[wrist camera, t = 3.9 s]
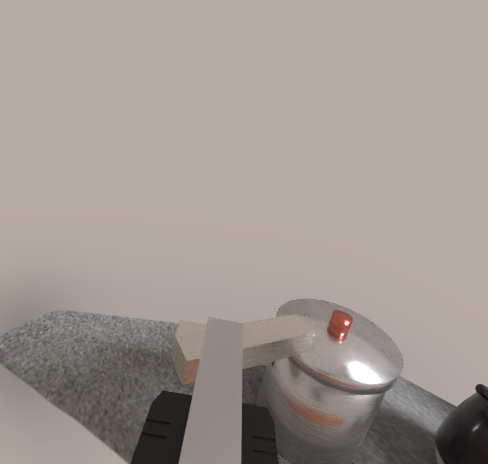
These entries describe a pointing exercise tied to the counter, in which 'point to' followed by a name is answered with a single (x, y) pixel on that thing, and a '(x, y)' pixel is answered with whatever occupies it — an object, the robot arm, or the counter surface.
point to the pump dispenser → (465, 432)
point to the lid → (310, 347)
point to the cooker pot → (310, 413)
